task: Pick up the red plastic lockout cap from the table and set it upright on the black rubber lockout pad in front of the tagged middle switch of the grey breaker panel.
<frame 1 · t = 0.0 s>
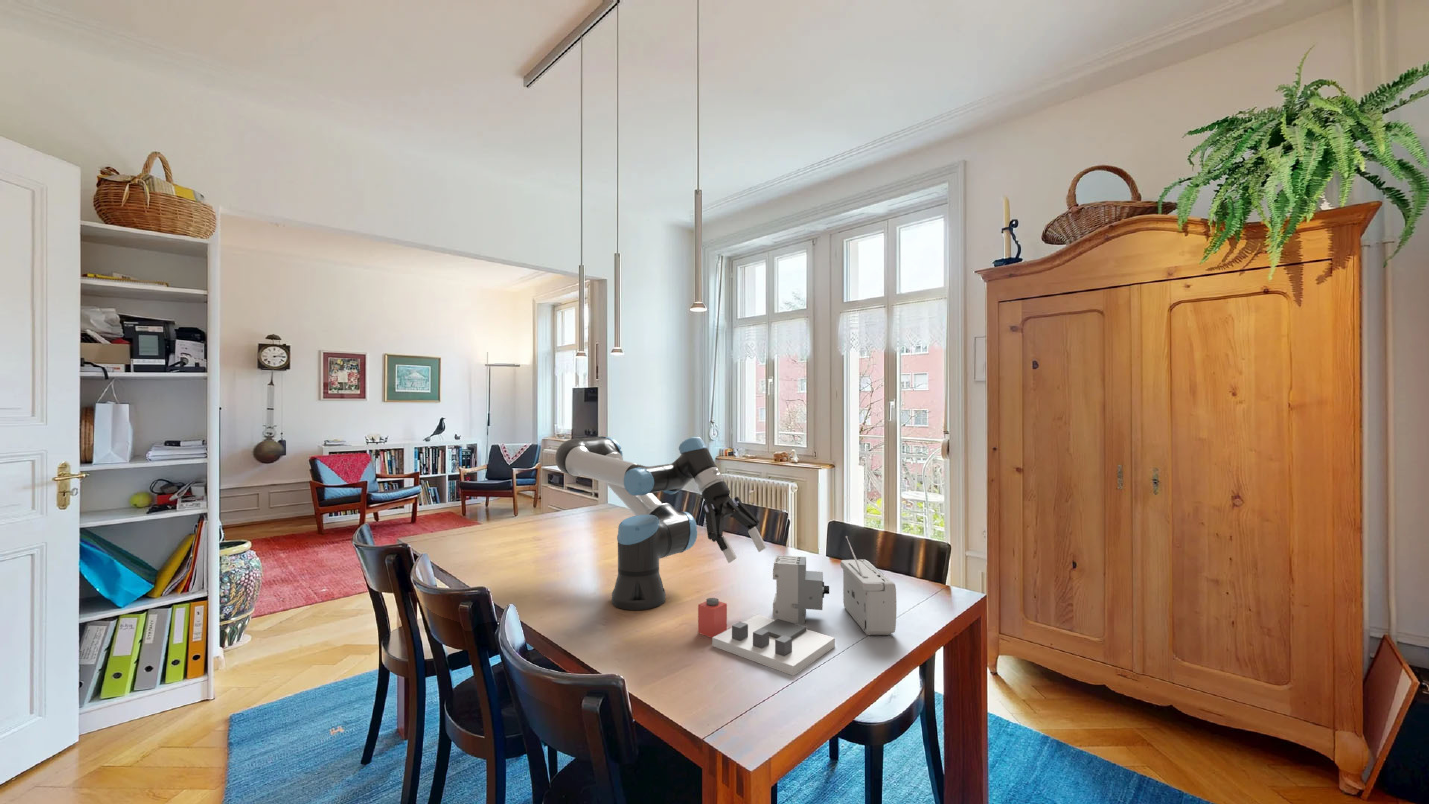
hand: (748, 555, 152), 15 cm above the table, tool tilted 35°, fingers open, 13 cm apart
circuit breaker: (801, 618, 149), on the table
stereo radio cassette player: (866, 621, 146), on the table
lockout cap: (712, 632, 139), on the table
breaker panel: (773, 646, 131), on the table
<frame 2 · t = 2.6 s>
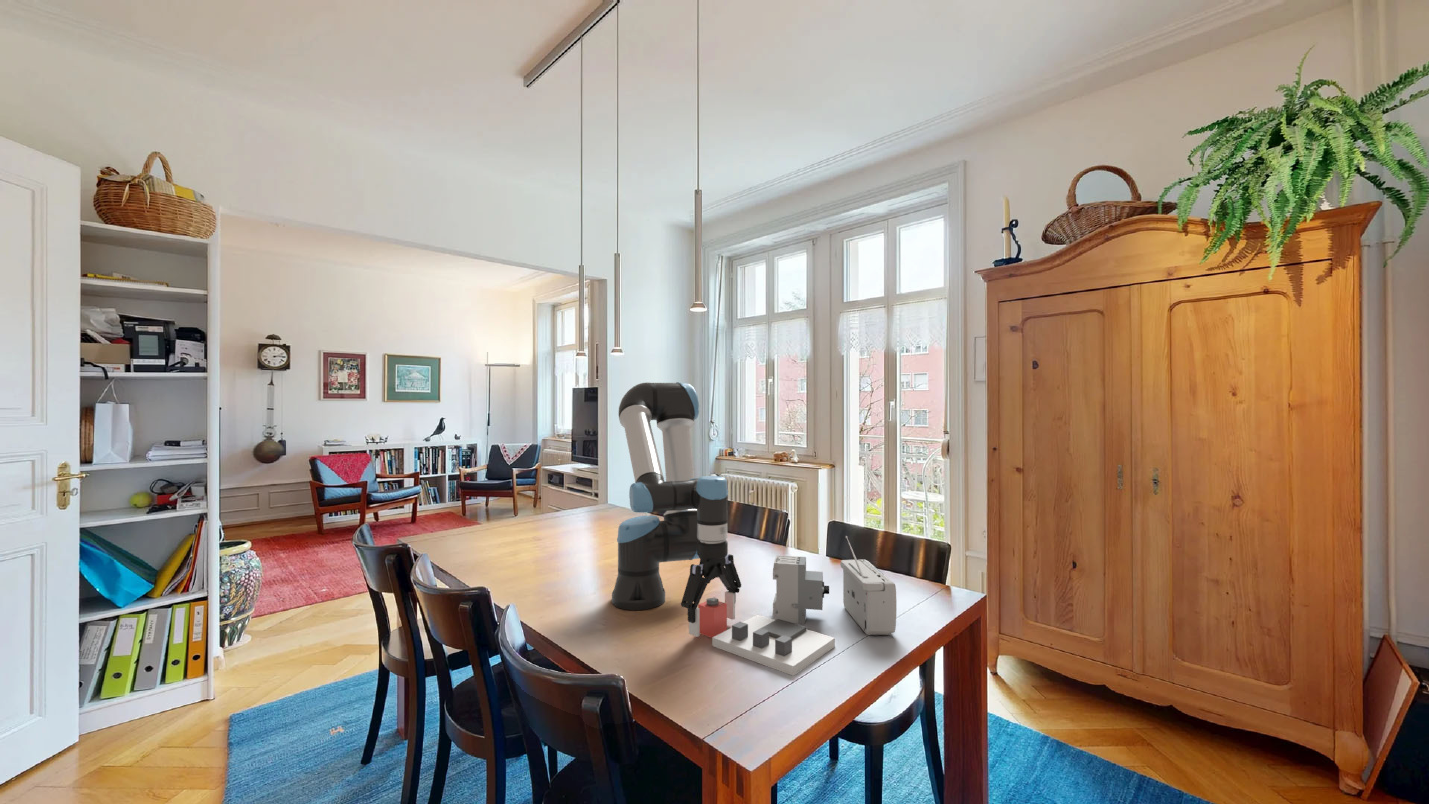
hand: (712, 626, 139), 1 cm above the table, tool pointing down, fingers open, 13 cm apart
nothing on the table moved.
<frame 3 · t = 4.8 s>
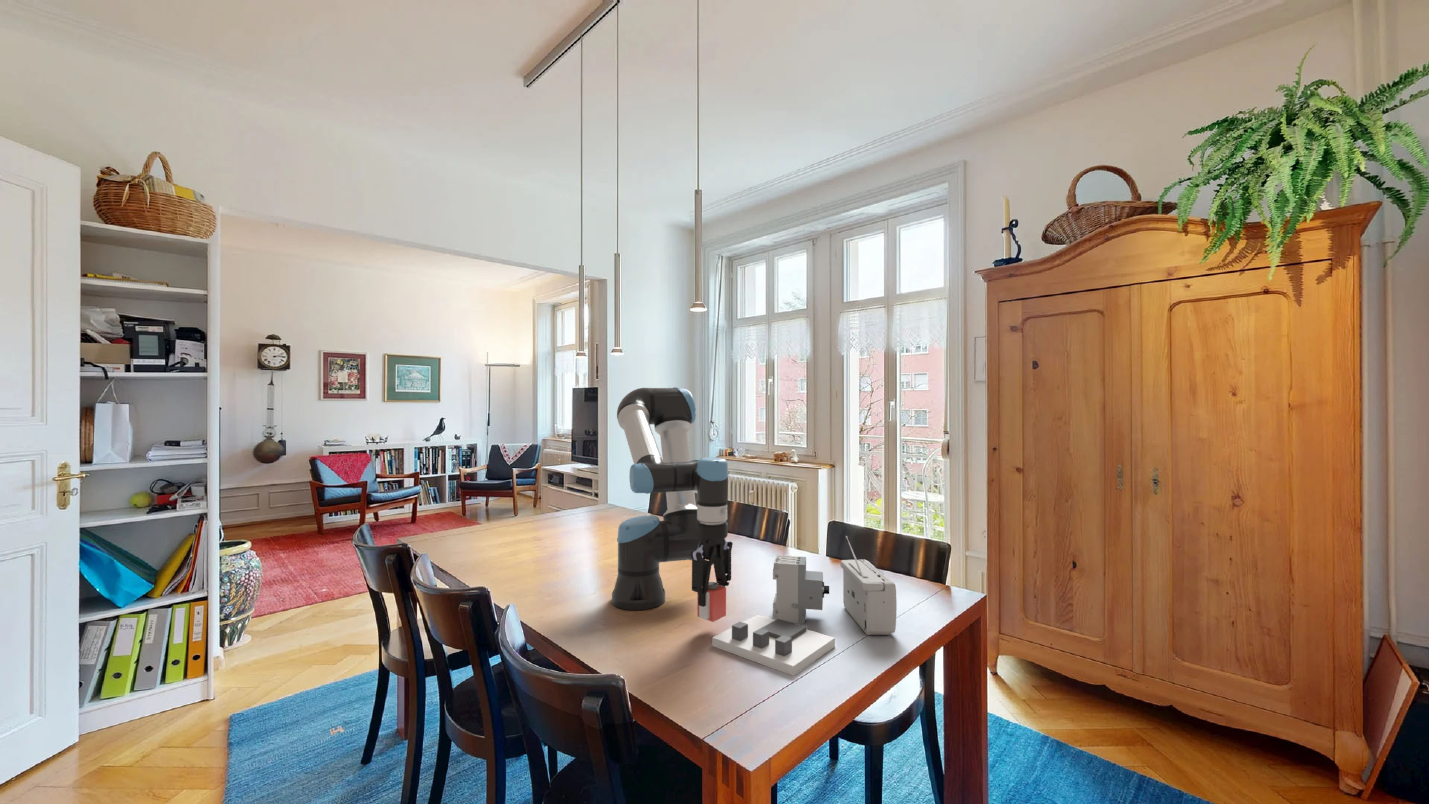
hand: (711, 614, 140), 4 cm above the table, tool pointing down, fingers closed on lockout cap, 5 cm apart
lockout cap: (711, 616, 140), point 4 cm above the table, touching gripper
everything else where it was.
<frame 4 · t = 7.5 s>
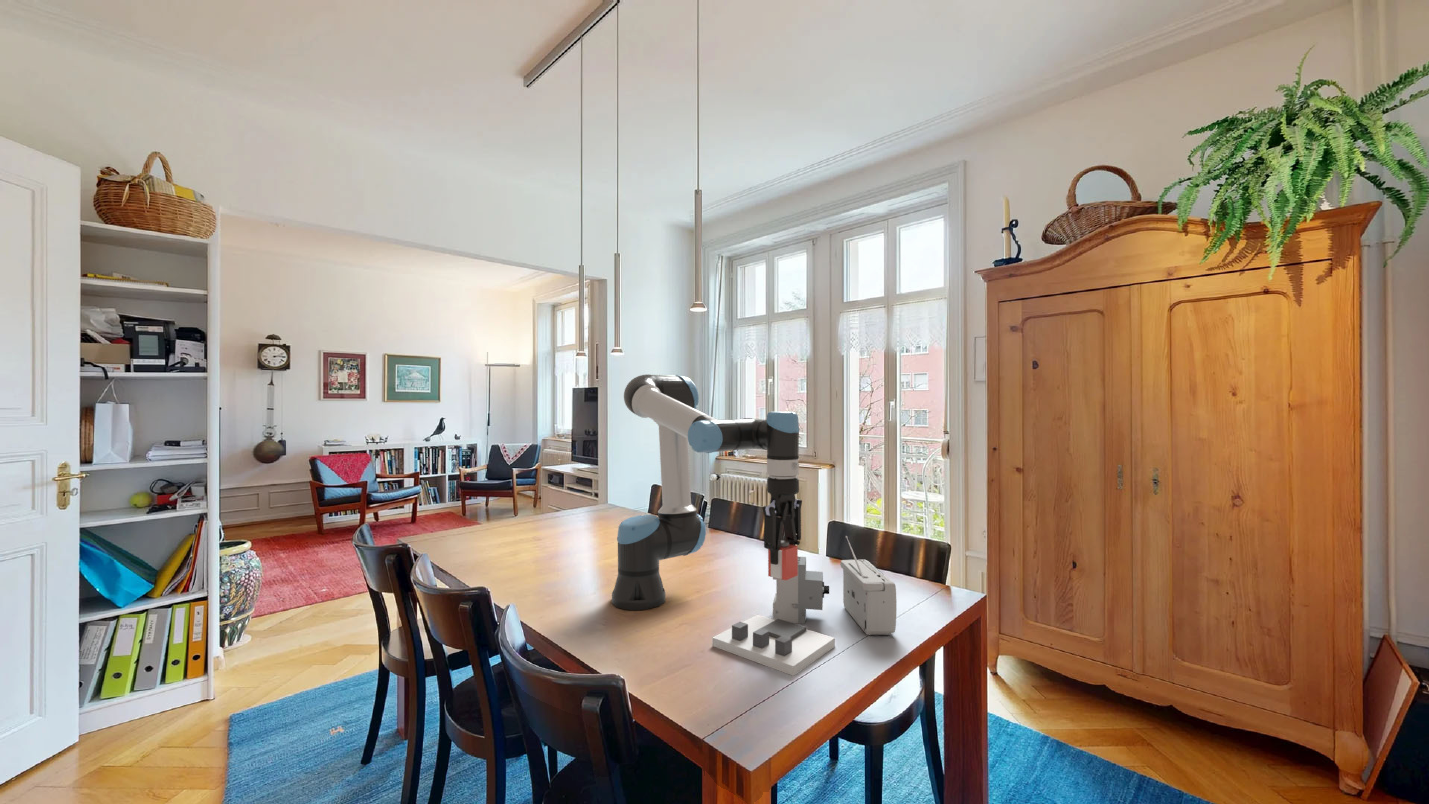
hand: (783, 574, 134), 16 cm above the table, tool pointing down, fingers closed on lockout cap, 5 cm apart
lockout cap: (783, 575, 134), point 15 cm above the table, touching gripper
everything else where it was.
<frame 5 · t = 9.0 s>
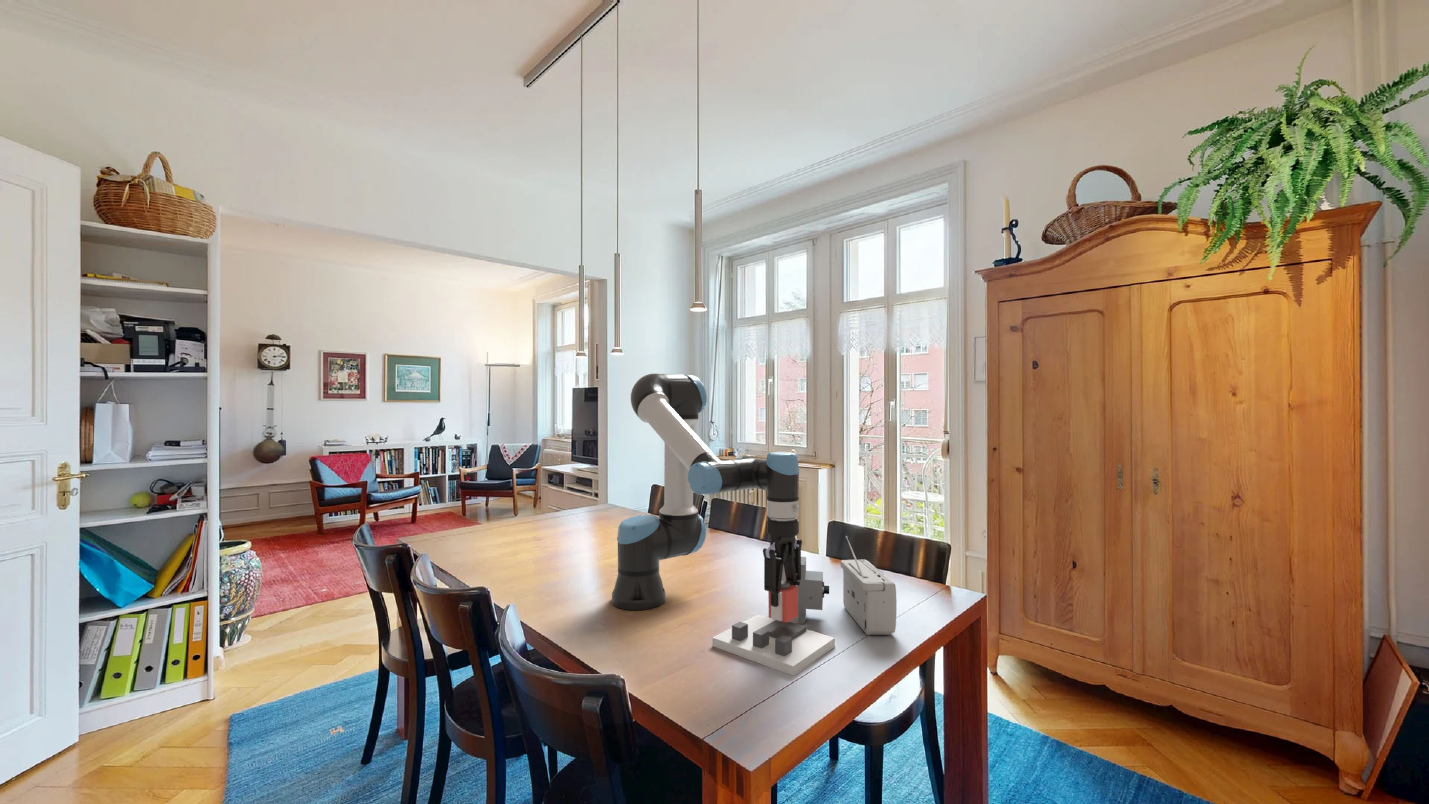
hand: (783, 615, 134), 6 cm above the table, tool pointing down, fingers closed on lockout cap, 5 cm apart
lockout cap: (783, 616, 134), point 6 cm above the table, touching gripper
everything else where it was.
when the fingers open (4 cm above the table, at t = 10.2 s): lockout cap stays where it is, resting on breaker panel.
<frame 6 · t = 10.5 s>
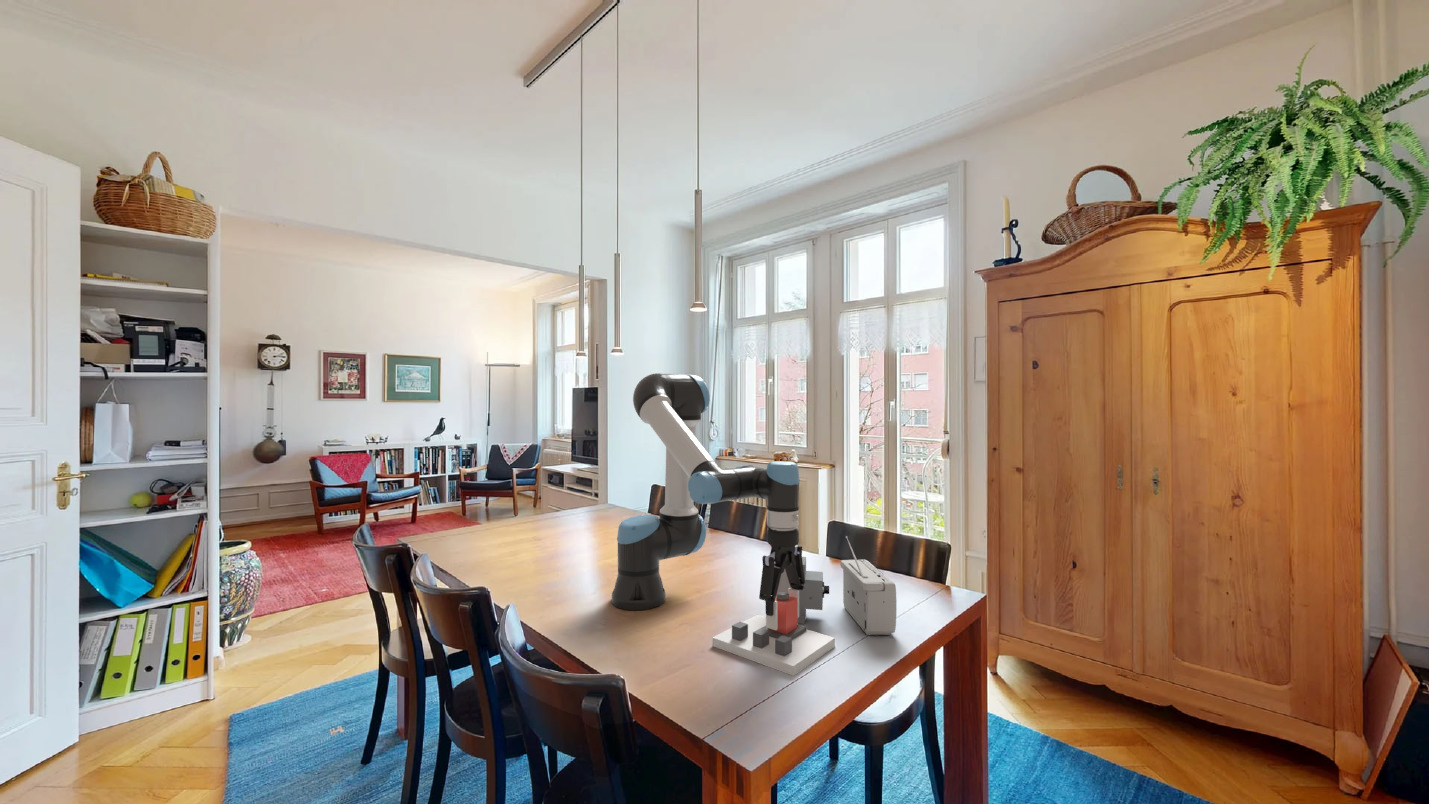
hand: (783, 622, 134), 4 cm above the table, tool pointing down, fingers open, 9 cm apart
lockout cap: (782, 627, 135), point 3 cm above the table, touching breaker panel
everything else where it was.
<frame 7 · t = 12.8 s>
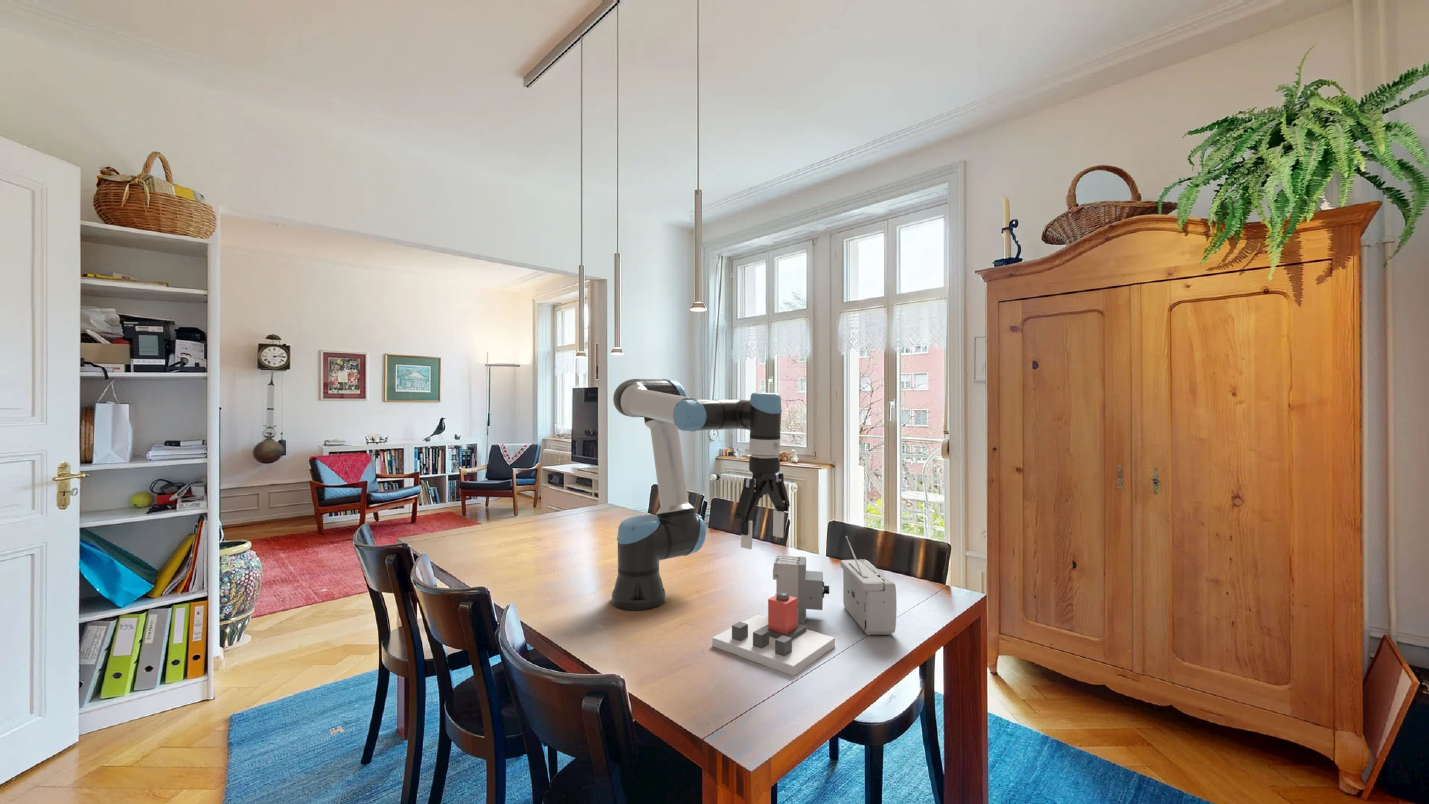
hand: (762, 542, 139), 22 cm above the table, tool pointing down, fingers open, 13 cm apart
nothing on the table moved.
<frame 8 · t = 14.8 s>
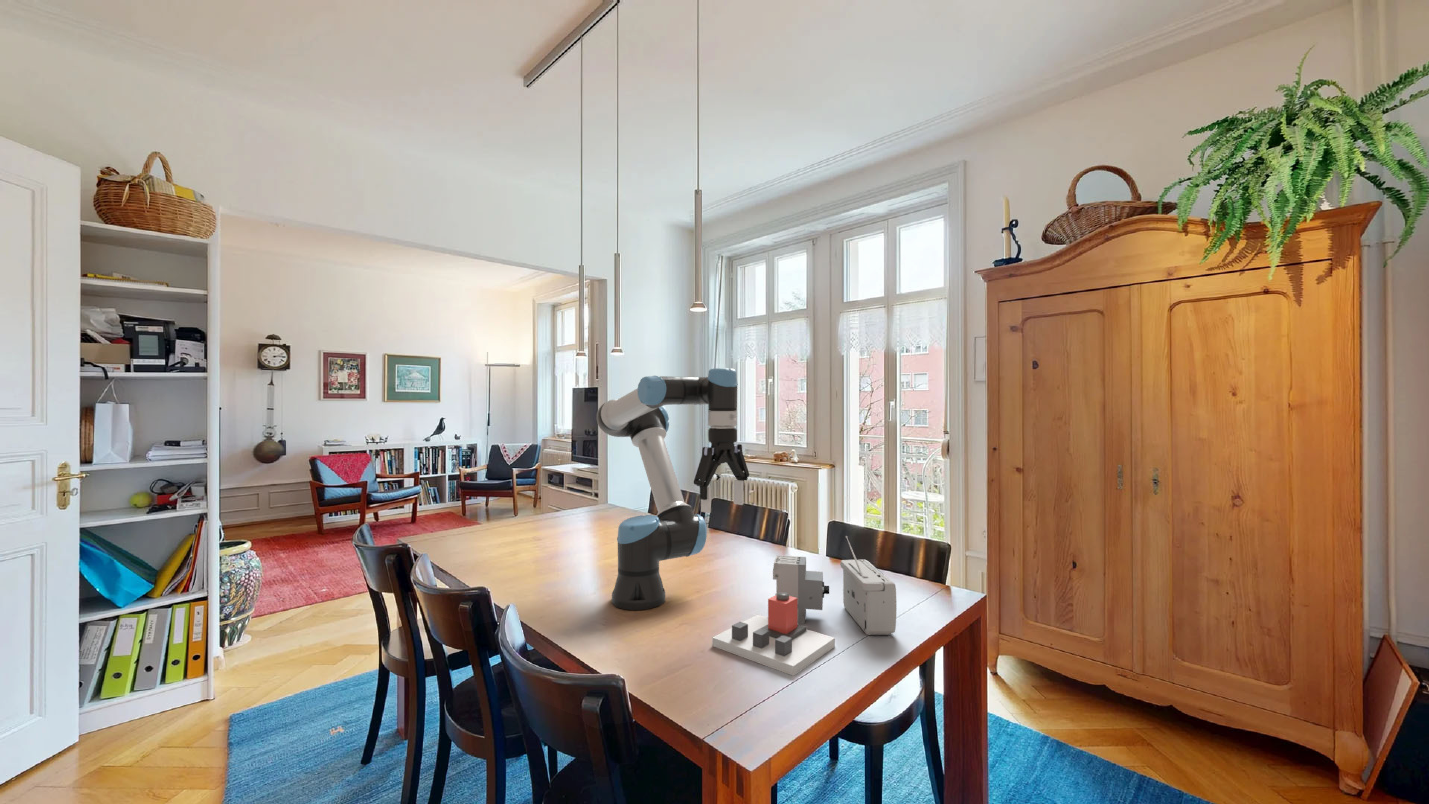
hand: (722, 508, 149), 29 cm above the table, tool pointing down, fingers open, 13 cm apart
nothing on the table moved.
at the end: lockout cap inside the target area on the breaker panel (0.1 cm from its centre), point 3.0 cm above the breaker panel's base; lockout cap tilted 0°; the gripper is holding nothing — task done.
